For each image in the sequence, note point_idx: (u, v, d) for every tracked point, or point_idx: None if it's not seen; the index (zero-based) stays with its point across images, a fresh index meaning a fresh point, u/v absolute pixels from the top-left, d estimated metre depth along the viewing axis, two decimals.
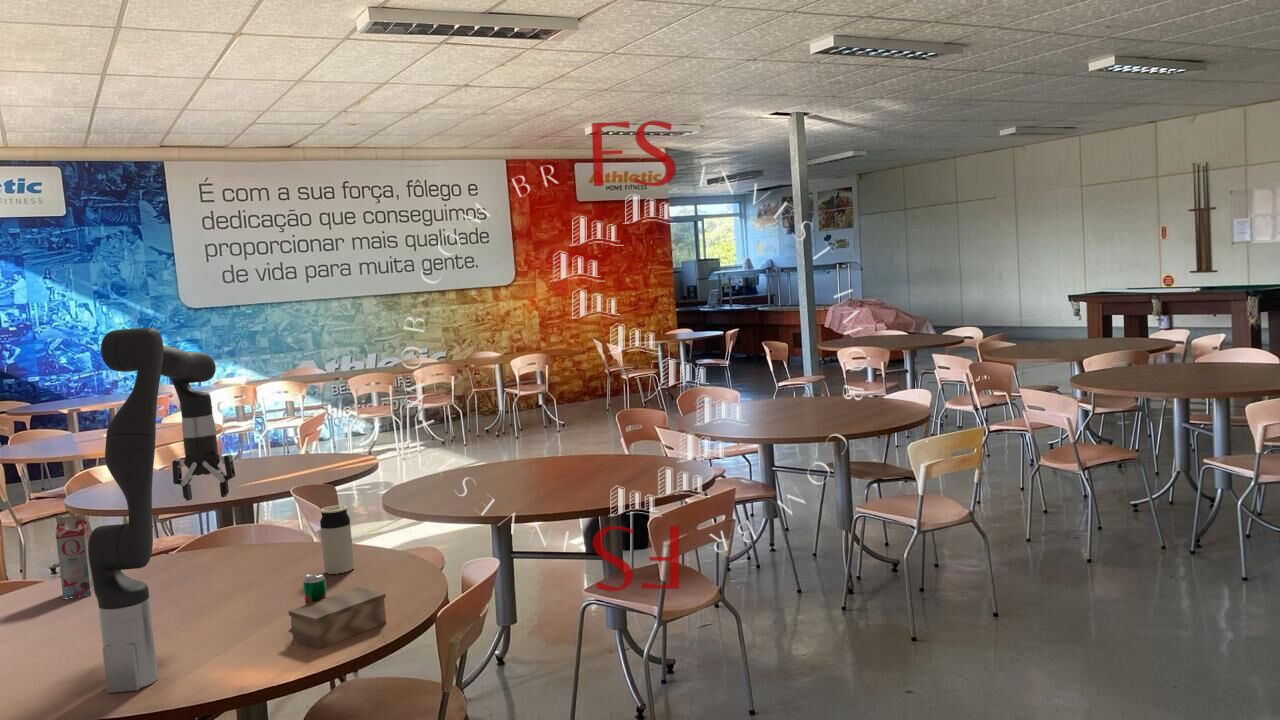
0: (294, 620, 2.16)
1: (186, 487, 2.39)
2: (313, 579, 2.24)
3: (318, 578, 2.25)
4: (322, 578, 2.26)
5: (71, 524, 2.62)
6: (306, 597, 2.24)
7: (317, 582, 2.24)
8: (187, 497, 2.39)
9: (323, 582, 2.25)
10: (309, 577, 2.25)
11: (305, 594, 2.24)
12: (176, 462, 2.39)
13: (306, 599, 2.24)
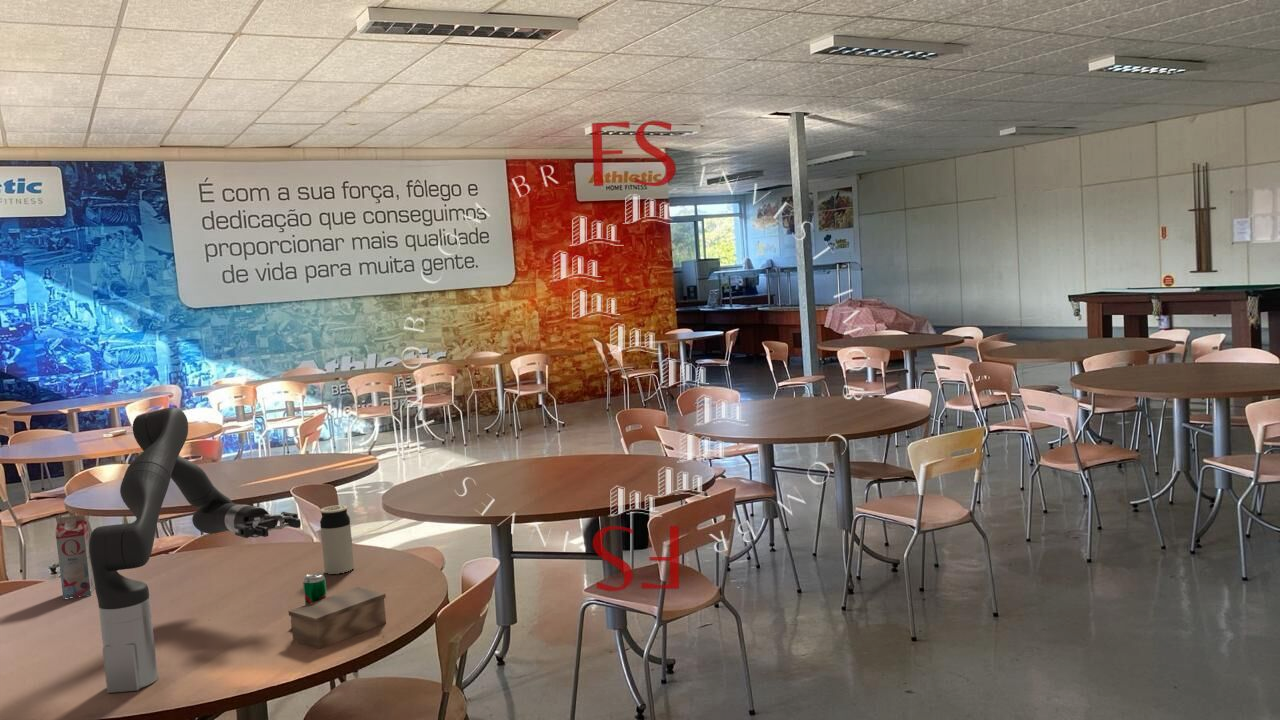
0: (294, 620, 2.16)
1: (259, 526, 2.31)
2: (313, 579, 2.24)
3: (318, 578, 2.25)
4: (322, 578, 2.26)
5: (71, 524, 2.62)
6: (306, 597, 2.24)
7: (317, 582, 2.24)
8: (264, 527, 2.29)
9: (323, 582, 2.25)
10: (309, 577, 2.25)
11: (305, 594, 2.24)
12: None
13: (306, 599, 2.24)
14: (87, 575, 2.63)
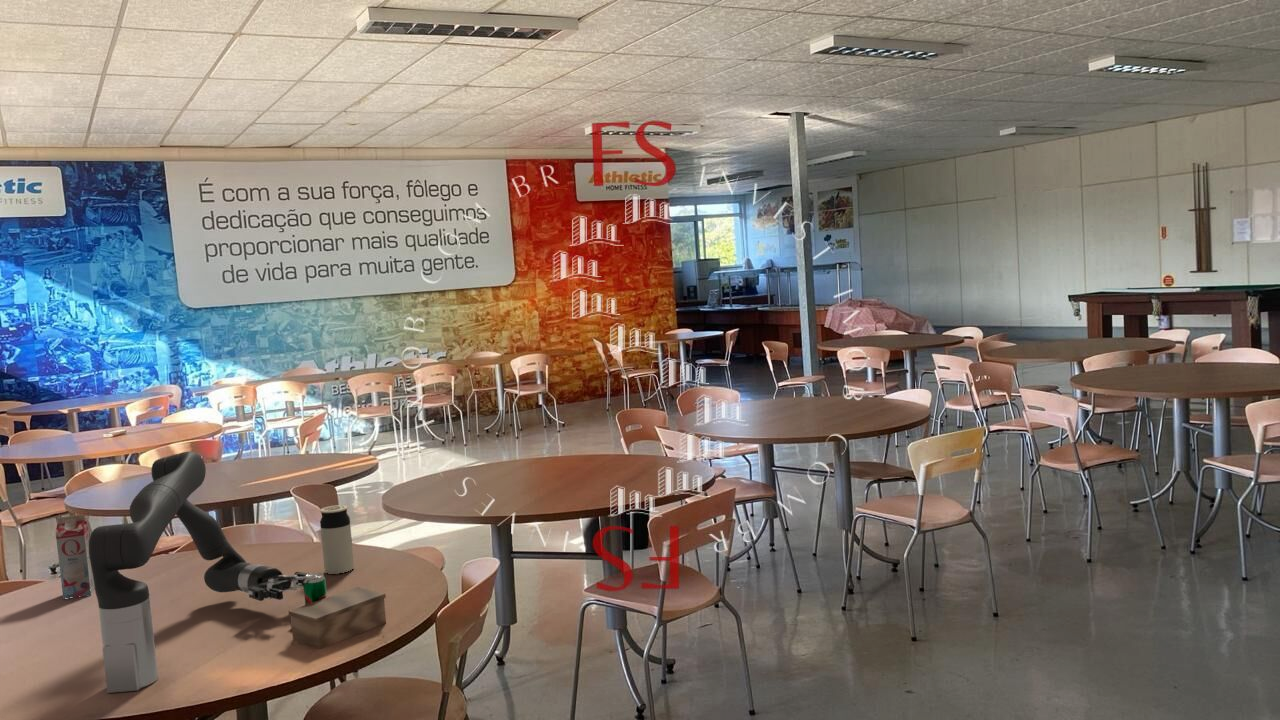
0: (294, 620, 2.16)
1: (273, 588, 2.29)
2: (313, 579, 2.24)
3: (318, 578, 2.25)
4: (322, 578, 2.26)
5: (71, 524, 2.62)
6: (306, 597, 2.24)
7: (317, 582, 2.24)
8: (279, 590, 2.28)
9: (323, 582, 2.25)
10: (309, 577, 2.25)
11: (305, 594, 2.24)
12: None
13: (306, 599, 2.24)
14: (87, 575, 2.63)
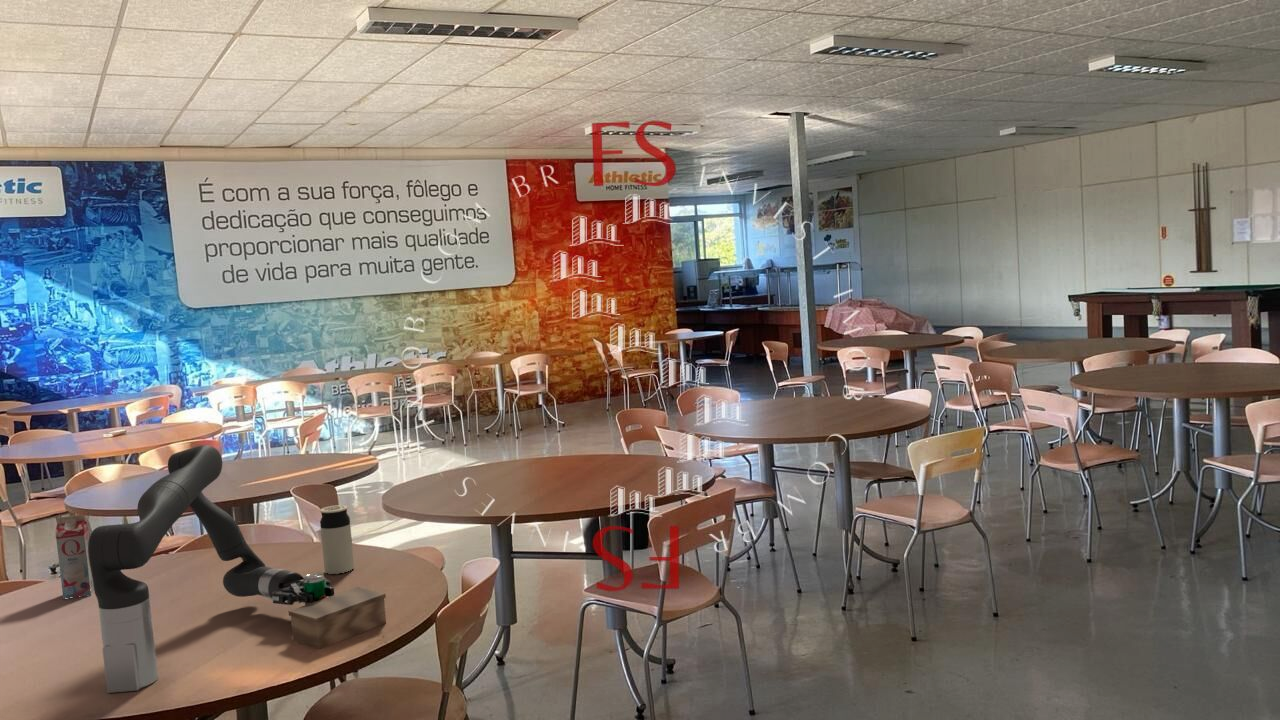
0: (294, 620, 2.16)
1: (303, 592, 2.25)
2: (313, 579, 2.24)
3: (318, 578, 2.25)
4: (322, 578, 2.26)
5: (71, 524, 2.62)
6: None
7: (317, 582, 2.24)
8: (309, 594, 2.23)
9: (323, 582, 2.25)
10: (309, 577, 2.25)
11: None
12: None
13: None
14: (87, 575, 2.63)
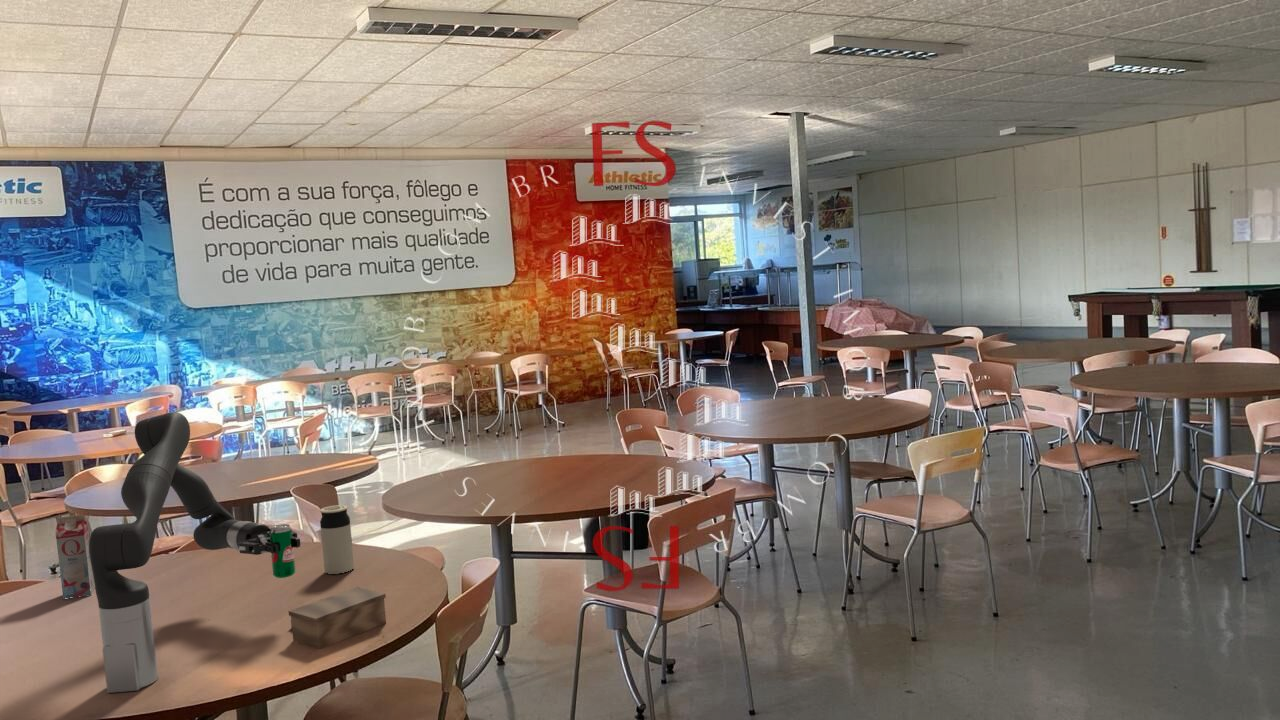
0: (294, 620, 2.16)
1: (269, 542, 2.28)
2: (279, 529, 2.28)
3: (284, 528, 2.28)
4: (288, 529, 2.29)
5: (71, 524, 2.62)
6: None
7: (283, 532, 2.28)
8: (275, 544, 2.27)
9: (289, 533, 2.29)
10: (275, 527, 2.29)
11: None
12: None
13: None
14: (87, 575, 2.63)
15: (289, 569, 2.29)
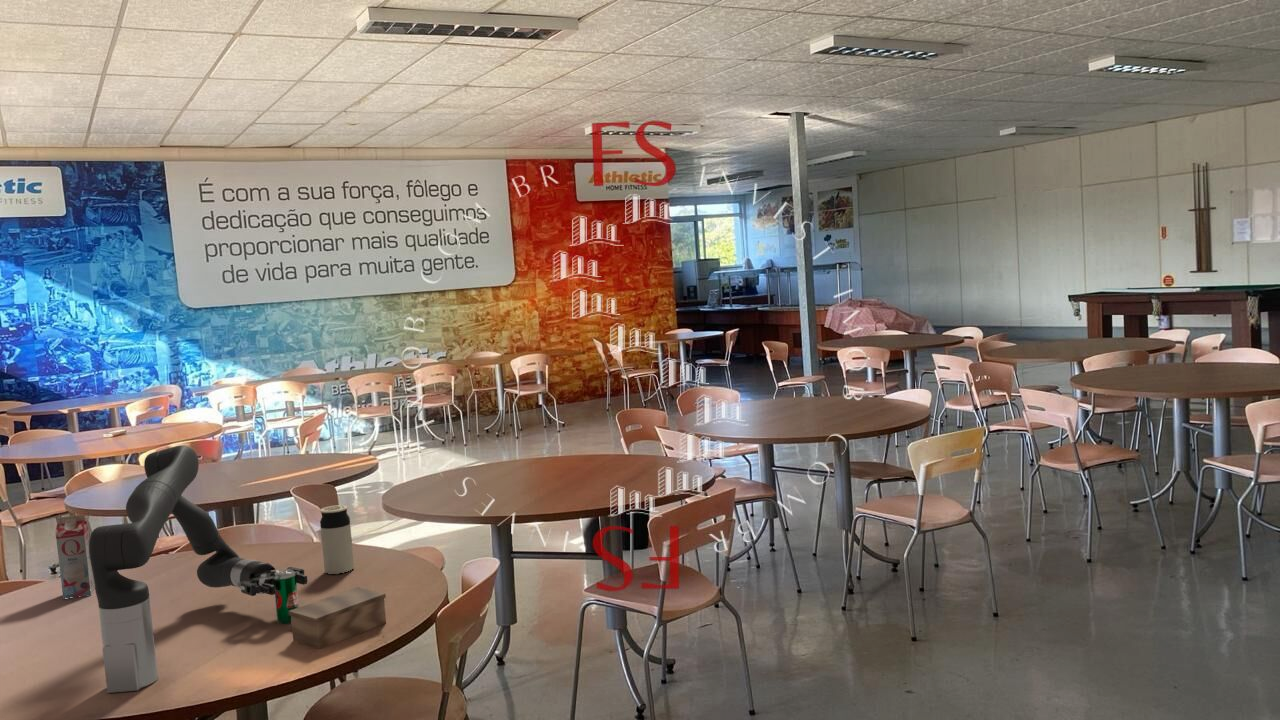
0: (294, 620, 2.16)
1: (265, 583, 2.29)
2: (283, 575, 2.29)
3: (288, 574, 2.29)
4: (292, 574, 2.30)
5: (71, 524, 2.62)
6: (276, 592, 2.29)
7: (287, 578, 2.29)
8: (271, 585, 2.27)
9: (293, 578, 2.30)
10: (279, 573, 2.29)
11: (275, 590, 2.29)
12: None
13: (276, 595, 2.29)
14: (87, 575, 2.63)
15: None
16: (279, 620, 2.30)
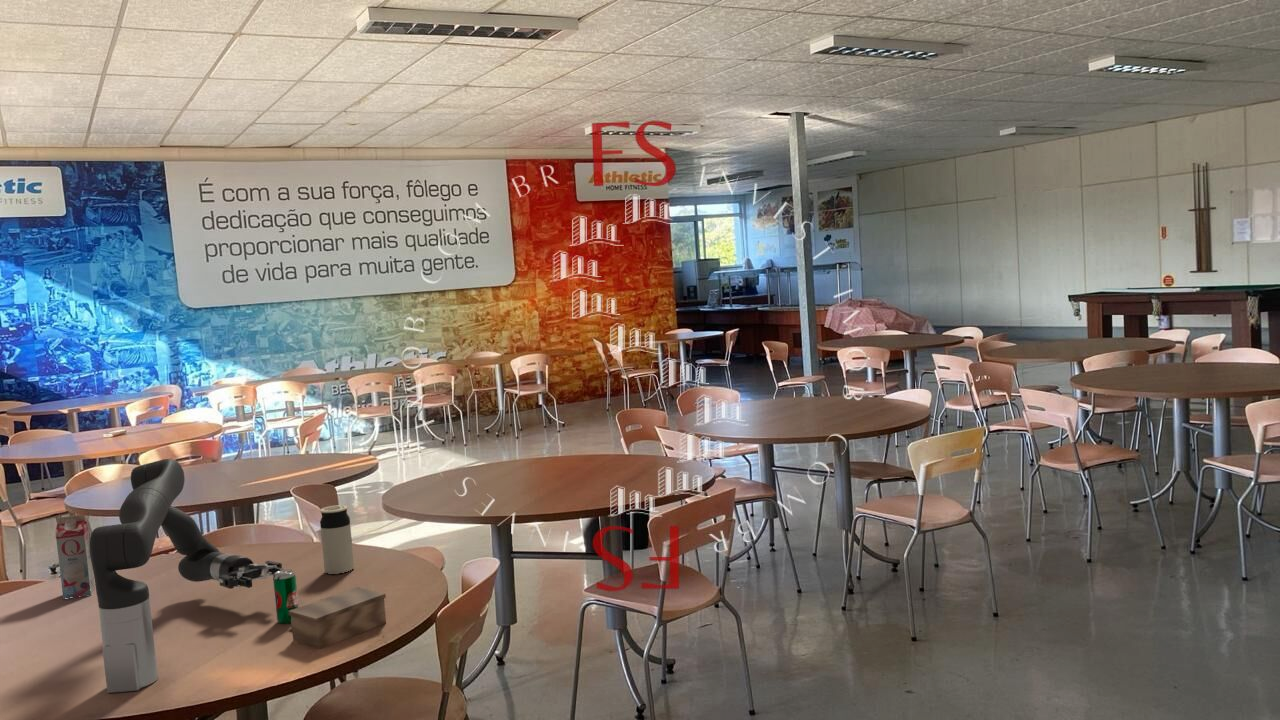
0: (294, 620, 2.16)
1: (243, 576, 2.35)
2: (283, 575, 2.29)
3: (288, 574, 2.29)
4: (292, 574, 2.30)
5: (71, 524, 2.62)
6: (276, 592, 2.29)
7: (287, 578, 2.29)
8: (248, 578, 2.33)
9: (293, 578, 2.30)
10: (279, 573, 2.29)
11: (275, 590, 2.29)
12: None
13: (276, 595, 2.29)
14: (87, 575, 2.63)
15: None
16: (279, 620, 2.30)
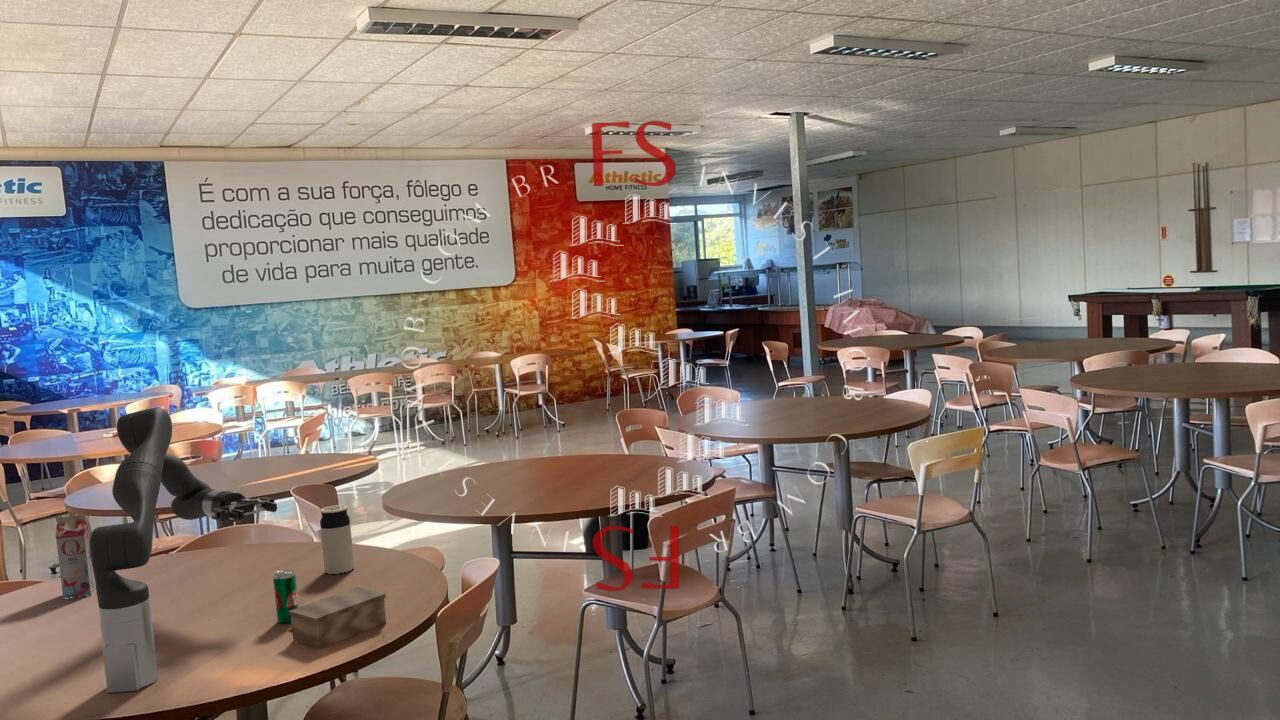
0: (294, 620, 2.16)
1: (235, 509, 2.33)
2: (283, 575, 2.29)
3: (288, 574, 2.29)
4: (292, 574, 2.30)
5: (71, 524, 2.62)
6: (276, 592, 2.29)
7: (287, 578, 2.29)
8: (240, 510, 2.32)
9: (293, 578, 2.30)
10: (279, 573, 2.29)
11: (275, 590, 2.29)
12: None
13: (276, 595, 2.29)
14: (87, 575, 2.63)
15: None
16: (279, 620, 2.30)
